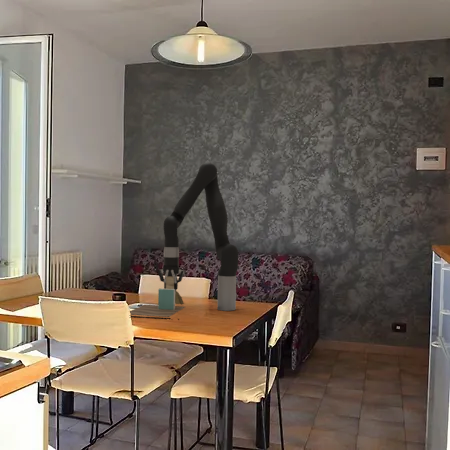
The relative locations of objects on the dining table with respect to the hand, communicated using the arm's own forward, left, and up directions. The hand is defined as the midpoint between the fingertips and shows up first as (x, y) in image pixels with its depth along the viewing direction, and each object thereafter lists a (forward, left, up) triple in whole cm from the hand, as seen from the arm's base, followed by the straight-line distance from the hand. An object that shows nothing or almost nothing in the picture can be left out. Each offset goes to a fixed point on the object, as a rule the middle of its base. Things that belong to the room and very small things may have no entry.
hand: (170, 290), depth 267 cm
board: (+11, -4, -10) cm, 15 cm away
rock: (-11, -2, -10) cm, 15 cm away
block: (0, 0, -2) cm, 2 cm away
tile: (+7, 0, -9) cm, 11 cm away
